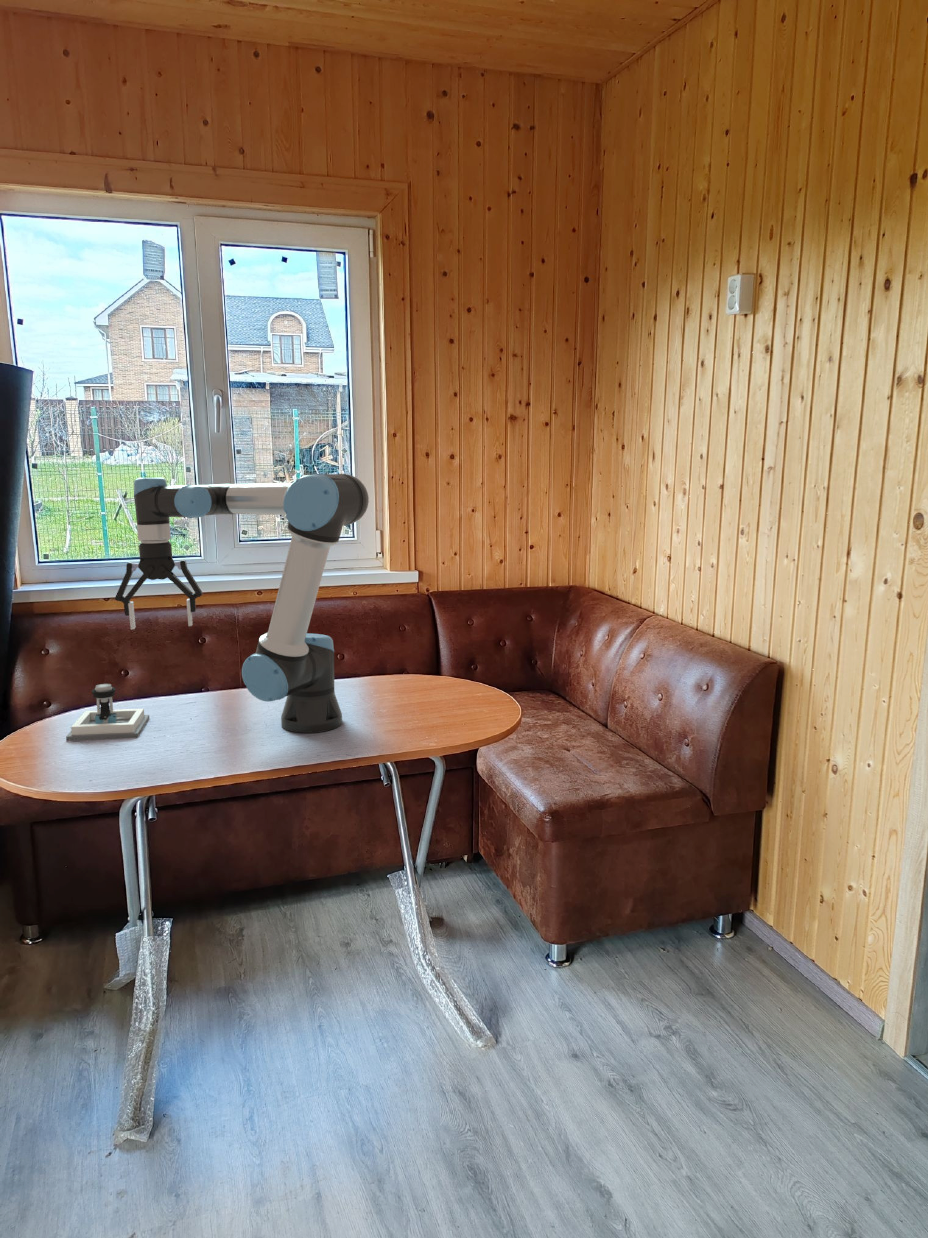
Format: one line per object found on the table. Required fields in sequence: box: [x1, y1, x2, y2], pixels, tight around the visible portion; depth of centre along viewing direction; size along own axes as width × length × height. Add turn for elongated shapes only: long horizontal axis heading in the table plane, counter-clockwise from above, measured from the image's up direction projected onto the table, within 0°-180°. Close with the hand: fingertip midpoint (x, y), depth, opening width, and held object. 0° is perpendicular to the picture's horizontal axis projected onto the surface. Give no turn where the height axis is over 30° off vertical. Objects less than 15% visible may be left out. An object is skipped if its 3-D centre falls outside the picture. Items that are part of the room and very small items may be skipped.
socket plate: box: [65, 708, 150, 742], centre depth 207 cm, size 16×15×3 cm
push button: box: [91, 683, 124, 724], centre depth 207 cm, size 7×5×10 cm
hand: (162, 626), depth 210 cm, fingers open, 13 cm apart
